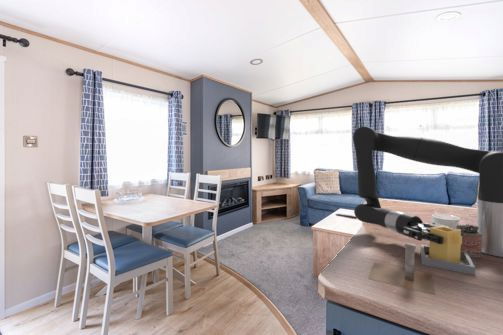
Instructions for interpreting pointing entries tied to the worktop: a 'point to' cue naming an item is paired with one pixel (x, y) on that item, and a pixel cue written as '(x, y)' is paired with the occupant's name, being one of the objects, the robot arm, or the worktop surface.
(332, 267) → the worktop surface
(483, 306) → the worktop surface
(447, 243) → the yellow open box
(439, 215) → the white cup
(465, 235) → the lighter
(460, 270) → the tray
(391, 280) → the board
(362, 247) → the worktop surface
